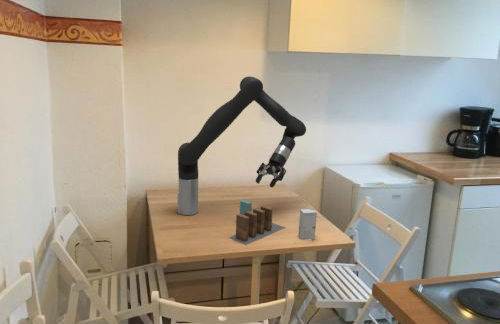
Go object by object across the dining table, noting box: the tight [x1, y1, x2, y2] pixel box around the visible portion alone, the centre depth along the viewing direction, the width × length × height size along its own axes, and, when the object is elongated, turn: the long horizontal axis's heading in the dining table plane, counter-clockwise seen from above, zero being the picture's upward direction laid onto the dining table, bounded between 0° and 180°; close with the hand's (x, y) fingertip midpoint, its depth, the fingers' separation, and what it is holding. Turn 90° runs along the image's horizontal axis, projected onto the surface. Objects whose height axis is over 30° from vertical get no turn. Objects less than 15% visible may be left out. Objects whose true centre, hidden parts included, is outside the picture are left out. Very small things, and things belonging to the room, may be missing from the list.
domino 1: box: [239, 199, 253, 216], centre depth 190 cm, size 2×5×10 cm, turn 48°
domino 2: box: [245, 211, 257, 238], centre depth 175 cm, size 2×5×10 cm, turn 48°
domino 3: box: [235, 213, 249, 242], centre depth 172 cm, size 2×5×10 cm, turn 48°
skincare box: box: [297, 208, 318, 241], centre depth 176 cm, size 6×4×12 cm
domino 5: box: [259, 205, 273, 232], centre depth 183 cm, size 2×5×10 cm, turn 48°
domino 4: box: [252, 207, 265, 235], centre depth 179 cm, size 2×5×10 cm, turn 48°
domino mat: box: [228, 222, 286, 246], centre depth 180 cm, size 26×10×1 cm, turn 138°
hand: (263, 184), depth 196 cm, fingers open, 8 cm apart
